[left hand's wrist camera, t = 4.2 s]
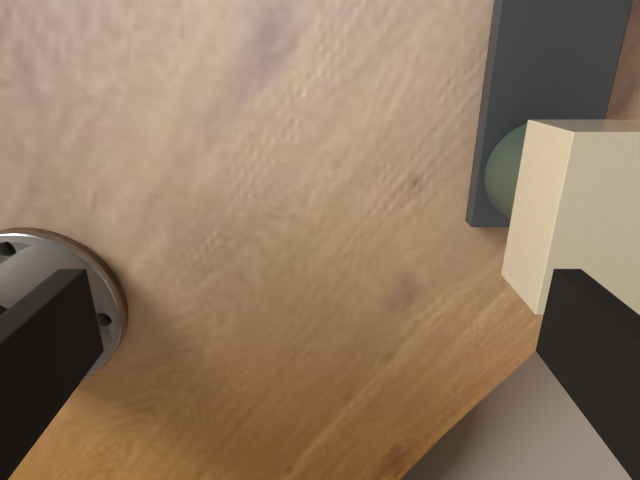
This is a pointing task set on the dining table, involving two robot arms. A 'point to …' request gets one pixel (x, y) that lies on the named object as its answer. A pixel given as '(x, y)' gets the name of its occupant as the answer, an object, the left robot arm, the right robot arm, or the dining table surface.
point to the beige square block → (576, 208)
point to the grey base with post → (539, 86)
